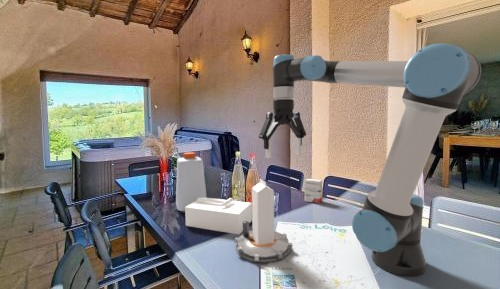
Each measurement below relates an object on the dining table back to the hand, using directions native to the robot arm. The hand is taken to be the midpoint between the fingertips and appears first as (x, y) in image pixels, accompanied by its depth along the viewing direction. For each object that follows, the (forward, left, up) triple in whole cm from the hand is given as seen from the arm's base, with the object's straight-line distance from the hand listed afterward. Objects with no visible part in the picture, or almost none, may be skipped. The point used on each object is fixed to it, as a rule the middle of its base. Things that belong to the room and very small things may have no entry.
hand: (283, 156), depth 103 cm
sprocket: (-4, +12, -31) cm, 33 cm away
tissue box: (+25, +16, -32) cm, 44 cm away
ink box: (+25, -39, -32) cm, 56 cm away
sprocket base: (-4, +12, -32) cm, 34 cm away
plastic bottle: (+52, +20, -32) cm, 64 cm away
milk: (-4, +12, -29) cm, 31 cm away
